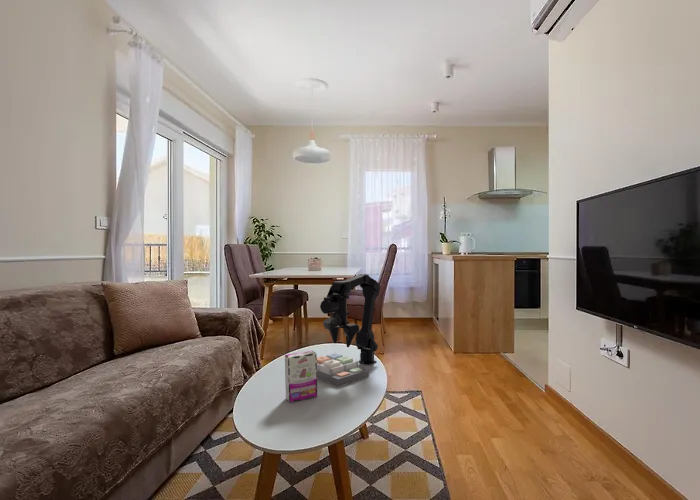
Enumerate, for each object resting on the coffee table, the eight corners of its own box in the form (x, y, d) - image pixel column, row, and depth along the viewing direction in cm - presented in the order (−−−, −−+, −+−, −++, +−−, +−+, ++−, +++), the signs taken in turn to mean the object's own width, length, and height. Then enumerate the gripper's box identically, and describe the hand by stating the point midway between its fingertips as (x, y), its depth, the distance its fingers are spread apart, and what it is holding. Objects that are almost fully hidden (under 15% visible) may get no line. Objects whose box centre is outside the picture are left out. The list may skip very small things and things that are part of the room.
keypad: (336, 365, 175) (336, 353, 175) (368, 376, 159) (368, 364, 159) (306, 373, 164) (306, 361, 164) (338, 386, 147) (338, 373, 147)
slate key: (335, 357, 172) (335, 352, 172) (342, 359, 168) (342, 354, 168) (326, 359, 168) (326, 354, 168) (333, 361, 164) (333, 357, 164)
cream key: (333, 363, 162) (332, 359, 162) (340, 366, 158) (340, 361, 158) (323, 366, 158) (323, 361, 158) (331, 369, 154) (331, 364, 154)
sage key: (345, 360, 166) (345, 355, 166) (353, 363, 163) (353, 358, 163) (336, 362, 163) (336, 358, 163) (344, 365, 159) (344, 360, 159)
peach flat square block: (323, 360, 167) (323, 355, 167) (330, 362, 163) (330, 358, 163) (313, 362, 164) (313, 357, 164) (320, 365, 160) (320, 360, 160)
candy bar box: (312, 392, 142) (312, 350, 142) (317, 397, 137) (317, 353, 137) (284, 398, 136) (284, 354, 136) (288, 403, 132) (288, 357, 132)
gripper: (313, 309, 164) (314, 344, 165) (339, 315, 150) (340, 353, 150) (333, 306, 172) (333, 339, 172) (359, 311, 157) (360, 347, 158)
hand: (341, 345), depth 163 cm, fingers open, 9 cm apart
